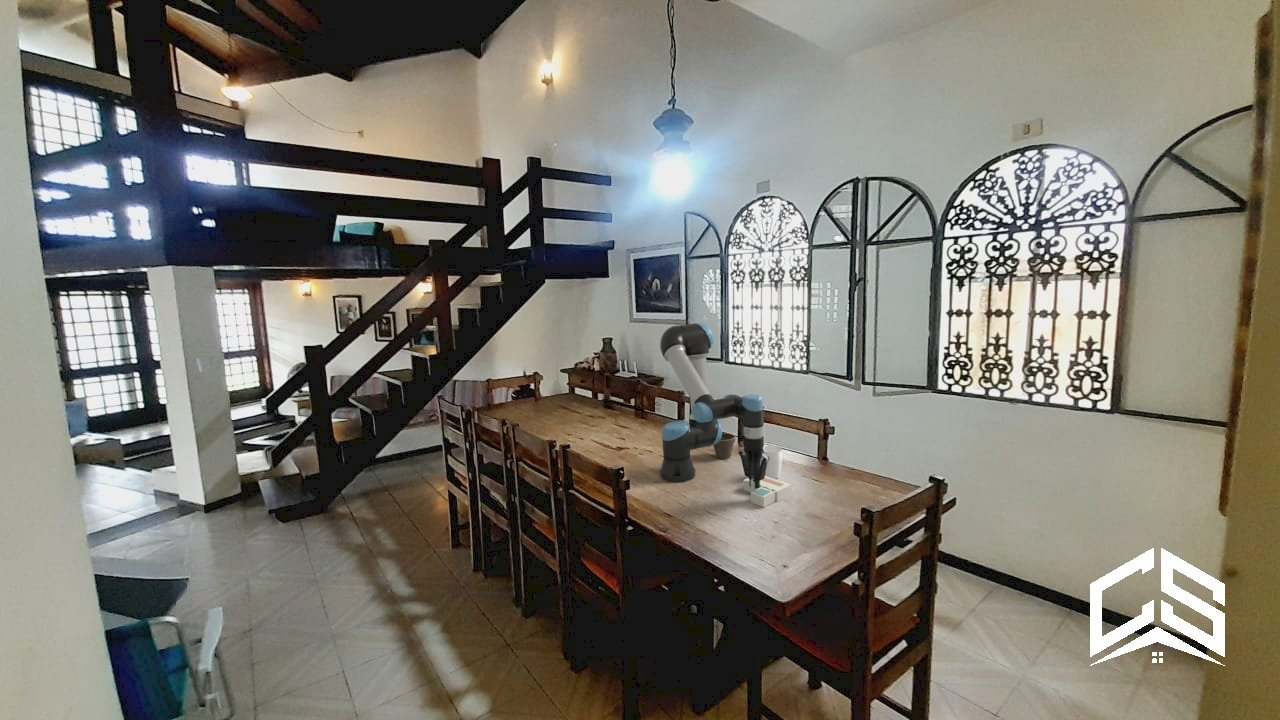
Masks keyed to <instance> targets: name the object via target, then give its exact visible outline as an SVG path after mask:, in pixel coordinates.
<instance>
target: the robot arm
mask: <svg viewBox="0 0 1280 720" xmlns="http://www.w3.org/2000/svg"><path fill="white" fill-rule="evenodd" d="M713 344H714V335H713V332H712V330H711V328H710V327H709V326H708V325H707V324H705V323H701V322H700V323H699V322H698V323H689V324H682V325H673V326H670V327H669V328H667V329H666V330H665V331H664V332H663V334H662V335H661V337H660V344H659V346H660V347H659V348H660V353H661V355H662V357H663V358H664V360H665V361H666V362H669V364H670V365H671V367H672V369H673V371H674V373H675V374H676V376H677V378H678V380H679V381H680V383H681V384H682V386H683V388H684V390H685V391H686V393H687V395H688V397H689V400H690V410H691V411H690V412H691V414H690V415H689V416H688V421H687V420H683V419H679V420H672V421H669V422H668V423H666V424H664V425H663V427H662V431H661V438H662V453H663V460H662V463H661V468H660V470H659V474H660V478H661V479H662V480H664V481H666V482H671V483H682V482H683V483H684V482H687V481H690V480H692V479H694V478H695V477H696V469H695V466H694V464H693V461H692V458H691V451H694V450H698V449H702V448H706V447H711V446H714V444H717V443H718V442H719V441H720V439H721V436H722V433H723V428H722V424H721V422H720V420H721V419H722V420H723V419H727V418H731V417H738V418H742V435H743V438H742V440H743V449H742V450H740V451H738V455H739V456H740V459H741V464H742V468H743V473H744V476H745V477H747V478H749V485H750V487H751V492H753V491H755V490H757V489H758V488H760V480H762V479H764V477H765V472H766V467H767V462H768V461H769V459H770V458H769V457H766V456H765V455H764V451H763V446H765V443H764V442H765V441H764V440H765V437H764V433H765V431H764V429H765V428H764V402H763V401H764V400H763V397H762V396H761V395H759V394H754V393H753V394H746V395H743V396H740V395H738V394H731V393H730V394H726V395H725V396H724V397H723V398H716V399H714V398H713V396H712V395H711V393H710V384H709V377H708V365H707V363H708V362H707V357H708V355H710V351H709V350H710V349H711V348H712V347H713ZM761 458H762V459H761ZM751 492H750V493H751Z"/></svg>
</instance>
